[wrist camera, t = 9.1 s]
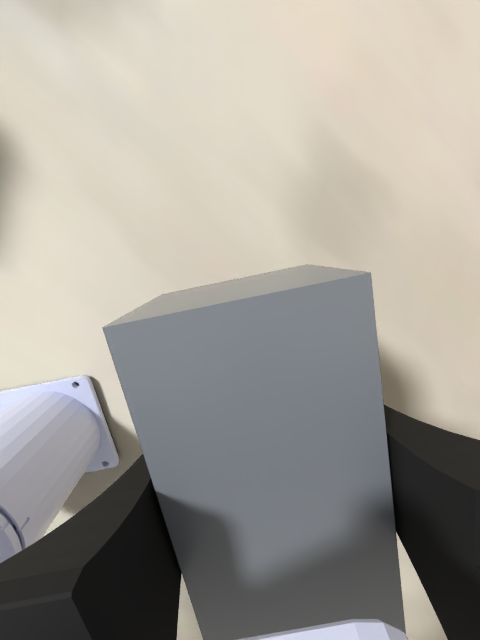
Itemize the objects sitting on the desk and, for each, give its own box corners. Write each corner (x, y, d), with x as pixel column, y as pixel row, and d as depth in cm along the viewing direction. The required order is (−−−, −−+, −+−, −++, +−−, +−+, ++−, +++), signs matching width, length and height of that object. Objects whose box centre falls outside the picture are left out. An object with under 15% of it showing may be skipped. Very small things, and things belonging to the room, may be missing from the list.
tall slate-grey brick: (221, 514, 15) (213, 671, 9) (162, 294, 12) (102, 327, 6) (340, 492, 14) (406, 637, 9) (307, 264, 12) (370, 272, 6)
